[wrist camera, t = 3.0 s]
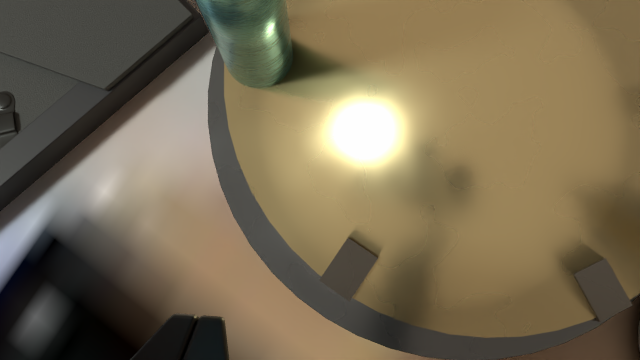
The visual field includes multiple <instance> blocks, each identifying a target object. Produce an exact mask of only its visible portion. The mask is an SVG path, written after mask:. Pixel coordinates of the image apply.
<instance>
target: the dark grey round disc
mask: <svg viewBox="0 0 640 360" xmlns="http://www.w3.org/2000/svg"><path fill="white" fill-rule="evenodd" d="M208 126H209V134H210V141H211V149H212V155H213V159H214V163H215V166H216V170H217V174H218V177H219V181H220V185H221V188H222V190H223V192H224V195H225V197H226V199H227V202H228V204H229V206H230V209H231V211H232V214H233V216H234V218H235V220H236V221H237V223H238V225H239V226H240V228H241V230H242V231H243V233H244V235H245V236H246V238H247V240H248V241H249V243H250V245H251V246H252V248H253V249H254V250H255V251H256V253H257V254H258V255H259V256H260V258H261V259H262V260H263V262H264V263H265V264H266V265H267V267H268V268H269V269H270V270H271V272H272V273H273V274H274V275H275V276H276V277H277V278H278V279H279V280H280V281H281V282H282V283H283V284H284V285H285V286H287V287H288V288H289V289H290V290H291V291H292V292H293V293H294V294H295V295H296V296H297V297H298V298H299V299H301V300H302V301H303V302H305V303H306V304H307V305H309V306H310V307H311V308H313V309H314V310H316V311H317V312H318V313H320V314H321V315H322V316H324V317H325V318H326V319H328V320H330V321H332V322H334V323H336V324H337V325H339V326H341V327H343V328H345V329H346V330H348V331H350V332H352V333H354V334H355V335H357V336H360V337H362V338H365V339H368V340H370V341H373V342H375V343H378V344H380V345H383V346H385V347H388V348H391V349H395V350H399V351H403V352H407V353H411V354H415V355H419V356H423V357H431V358H440V359H450V360H497V359H503V358H508V357H514V356H520V355H526V354H532V353H535V352H538V351H541V350H544V349H547V348H550V347H553V346H557V345H560V344H563V343H565V342H568V341H570V340H572V339H574V338H576V337H578V336H580V335H582V334H584V333H586V332H588V331H590V330H592V329H594V328H596V327H598V326H599V325H601V324H602V323H604V322H605V321H607V320H608V319H610V318H611V317H612V316H611V317H609V318H607V319H605V320H603V321H601V322H598V321H593V320H589V321H586V322H583V323H579V324H576V325H573V326H570V327H567V328H564V329H561V330H557V331H552V332H546V333H540V334H534V335H528V336H522V337H494V338H482V337H473V336H463V335H453V334H446V333H442V332H438V331H434V330H430V329H426V328H422V327H417V326H413V325H410V324H408V323H405V322H403V321H400V320H398V319H395V318H392V317H390V316H387V315H385V314H382V313H379V312H377V311H375V310H374V309H372V308H370V307H368V306H366V305H364V304H363V303H361V302H359V301H357V300H355V299H353V298H352V299H351V300H350V302H349V301H348V300H346V299H345V298H344V297H342V296H341V295H339V294H338V293H336V292H335V291H334V290H332V289H331V288H329V287H328V286H326V285H325V284H324V283H322V282H321V281H319V279H320V278H321V276H320V275H319V274H317V273H316V272H315V271H314V270H313V269H312V268H311V267H310V266H309V265H308V264H307V263H306V262H305V261H304V260H303V259H302V258H301V257H300V256H299V255H297V254H296V253H295V252H294V251H293V250H292V249H291V248H290V246H289V245H288V244H287V243H286V241H285V240H284V239H283V238H282V236H281V235H280V234H279V233H278V231H277V230H276V229H275V228H274V226H273V225H272V224H271V223H270V222H269V220H268V218H267V217H266V215H265V213H264V212H263V210H262V208H261V207H260V205H259V203H258V202H257V200H256V199H255V197H254V195H253V194H252V192H251V190H250V187H249V185H248V183H247V181H246V178H245V176H244V174H243V171H242V169H241V167H240V164H239V162H238V160H237V156H236V153H235V149H234V145H233V142H232V138H231V135H230V131H229V127H228V120H227V113H226V105H225V98H224V60H223V58H222V56H221V54H220V52H219V49H218V47H216V50H215V54H214V57H213V61H212V68H211V75H210V82H209V89H208ZM638 295H640V293H639V294H638ZM638 295H636V296H635V297H633V298H632V299H630V301H631V302H632V301H633V300H634V299H635V298H636V297H637V296H638ZM613 316H614V315H613Z"/></svg>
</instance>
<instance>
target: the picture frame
mask: <svg viewBox="0 0 640 360" xmlns="http://www.w3.org/2000/svg"><path fill="white" fill-rule="evenodd" d="M208 32H209V31H208V29H207V27H206V25H205V23H204V21H203V18H202V16H201V15H200V14H199V13H198V12H197V11H196V10H195V9H194V8H193V7H192V6H191V5H190V4H189V3H188V1H187V0H0V211H1V210H2V209H3V208H5V207H6V206H7V205H8V204H9V203H10V202H12V201H13V200H14V199H15V198H16V197H17V196H18V195H20V194H21V193H22V192H23V191H24V190H25V189H27V188H28V187H29V186H30V185H31V184H32V183H34V182H35V181H36V180H37V179H38V178H39V177H41V176H42V175H43V174H44V173H45V172H46V171H48V170H49V169H50V168H51V167H52V166H53V165H55V164H56V163H57V162H58V161H59V160H60V159H62V158H63V157H64V156H65V155H66V154H67V153H69V152H70V151H71V150H72V149H73V148H74V147H75V146H77V145H78V144H79V143H80V142H81V141H82V140H84V139H85V138H86V137H87V136H88V135H89V134H91V133H92V132H93V131H94V130H95V129H96V128H98V127H99V126H100V125H101V124H102V123H103V122H105V121H106V120H107V119H108V118H109V117H110V116H112V115H113V114H114V113H115V112H116V111H117V110H119V109H120V108H121V107H122V106H123V105H124V104H126V103H127V102H128V101H129V100H130V99H131V98H133V97H134V96H135V95H136V94H137V93H138V92H139V91H141V90H142V89H143V88H144V87H145V86H146V85H148V84H149V83H150V82H151V81H152V80H153V79H155V78H156V77H157V76H158V75H159V74H160V73H162V72H163V71H164V70H165V69H166V68H167V67H169V66H170V65H171V64H172V63H173V62H174V61H176V60H177V59H178V58H179V57H180V56H181V55H183V54H184V53H185V52H186V51H187V50H188V49H190V48H191V47H192V46H193V45H194V44H195V43H196V42H198V41H199V40H200V39H201V38H202V37H203V36H205V35H206V34H207V33H208Z"/></svg>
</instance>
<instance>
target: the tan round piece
mask: <svg viewBox="0 0 640 360" xmlns="http://www.w3.org/2000/svg"><path fill="white" fill-rule="evenodd" d="M196 2H197V4H198V7H199V9H200V11H201V13H202V15H203V17H204V19H205V22H206V24H207V26H208V28H209V30H210V32H211V34H212V37H213V39H214V41H215V43H216V45H217V47H218V49H219V52H220V54H221V56H222V58H223V60H224V98H225V105H226V113H227V120H228V127H229V131H230V135H231V138H232V142H233V145H234V149H235V153H236V156H237V160H238V162H239V164H240V167H241V169H242V171H243V174H244V176H245V178H246V181H247V183H248V185H249V187H250V190H251V192H252V194H253V195H254V197H255V199H256V200H257V202H258V203H259V205H260V207H261V208H262V210H263V212H264V213H265V215H266V217H267V218H268V220H269V222H270V223H271V224H272V225H273V226H274V228H275V229H276V230H277V231H278V233H279V234H280V235H281V236H282V238H283V239H284V240H285V241H286V243H287V244H288V245H289V246H290V248H291V249H292V250H293V251H294V252H295V253H296V254H297V255H299V256H300V257H301V258H302V259H303V260H304V261H305V262H306V263H307V264H308V265H309V266H310V267H311V268H312V269H313V270H314V271H315V272H316V273H317V274H319V275H320V276H321V278H320V279H319V281H321V282H322V283H324V284H325V285H326V286H328V287H329V288H331V289H332V290H334V291H335V292H336V293H338V294H339V295H341V296H342V297H344V298H345V299H346V300H348V301H349V302H350V300H351V299H352V298H353V299H355V300H357V301H359V302H361V303H363V304H364V305H366V306H368V307H370V308H372V309H374V310H375V311H377V312H379V313H382V314H385V315H387V316H390V317H392V318H395V319H398V320H400V321H403V322H405V323H408V324H410V325H413V326H417V327H422V328H426V329H430V330H434V331H438V332H442V333H446V334H453V335H463V336H473V337H482V338H494V337H522V336H528V335H534V334H540V333H546V332H552V331H557V330H561V329H564V328H567V327H570V326H573V325H576V324H579V323H583V322H586V321H589V320H593V321H598V322H601V321H603V320H605V319H607V318H609V317H611V316H613V315H615V314H617V313H619V312H621V311H623V310H625V309H627V308H629V307H631V306H633V305H632V303H631V301H630V299H632V298H633V297H635V296H636V295H638V294H639V293H640V0H196Z"/></svg>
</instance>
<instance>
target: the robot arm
mask: <svg viewBox="0 0 640 360" xmlns="http://www.w3.org/2000/svg"><path fill="white" fill-rule="evenodd" d="M130 360H229V353H228V345H227V336H226V328H225V320H224V318H223V317H218V316H206V315H204V316H201V317H200V318H199V317H198V316H197V315H193V314H180V313H177V314H174V315H172V316H171V317H170V318H169V319H168V320H167V321H166V322H165V323H164V324H163V325H162V326H161V327H160V328H159V329H158V331H157V332H156V333H155V334H154V335H153V336H152V337H151V338H150V339H149V340H148V341H147V342H146V343H145V344H144V345H143V347H142V348H141V349H140V350H139V351H138V352H137V353H136V354H135V355H134V356H133V357H132V358H131V359H130Z"/></svg>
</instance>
